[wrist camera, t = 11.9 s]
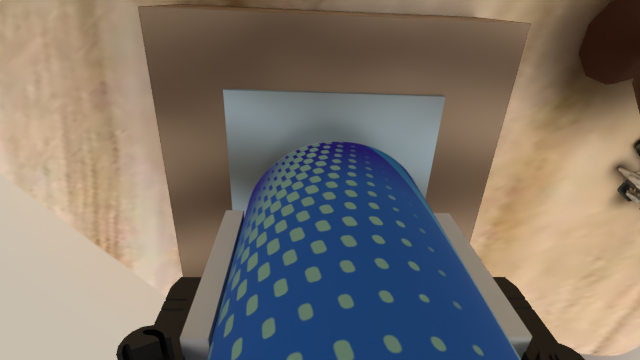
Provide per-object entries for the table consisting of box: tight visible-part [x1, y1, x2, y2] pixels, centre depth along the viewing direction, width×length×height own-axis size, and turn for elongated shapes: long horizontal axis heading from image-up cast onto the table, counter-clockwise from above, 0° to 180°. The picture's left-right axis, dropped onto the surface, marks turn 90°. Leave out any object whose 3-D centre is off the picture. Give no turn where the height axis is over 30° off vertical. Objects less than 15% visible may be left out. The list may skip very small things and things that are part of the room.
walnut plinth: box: [138, 4, 531, 277], centre depth 23 cm, size 18×18×6 cm
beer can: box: [207, 141, 521, 360], centre depth 11 cm, size 8×8×16 cm
